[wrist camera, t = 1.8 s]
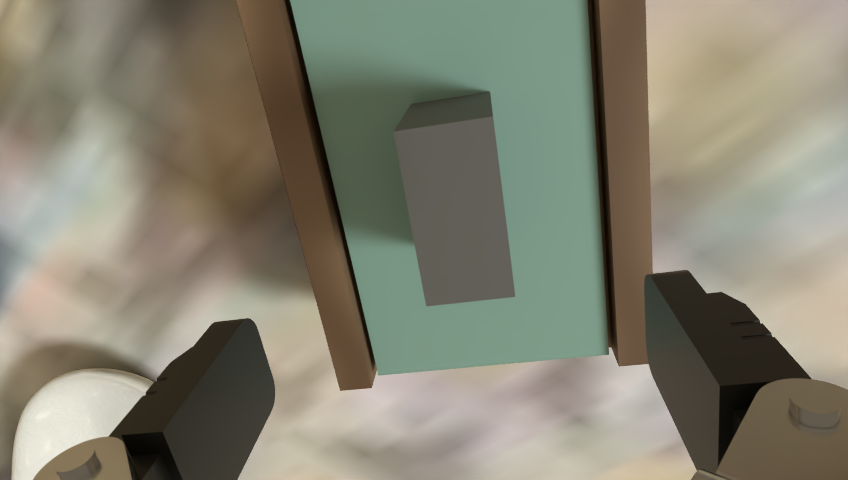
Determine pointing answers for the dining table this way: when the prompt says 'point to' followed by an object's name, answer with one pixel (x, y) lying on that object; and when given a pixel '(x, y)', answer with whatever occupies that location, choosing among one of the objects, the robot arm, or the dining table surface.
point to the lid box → (318, 207)
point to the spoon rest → (72, 414)
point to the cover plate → (532, 156)
